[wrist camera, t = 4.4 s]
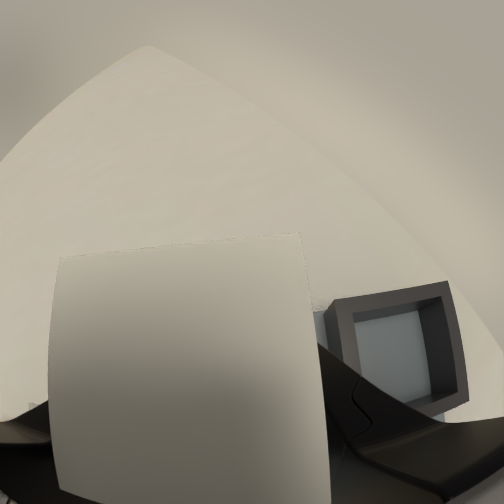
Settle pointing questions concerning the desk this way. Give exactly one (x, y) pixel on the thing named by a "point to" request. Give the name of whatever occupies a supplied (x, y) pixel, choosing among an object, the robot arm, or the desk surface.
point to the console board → (401, 344)
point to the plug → (188, 376)
